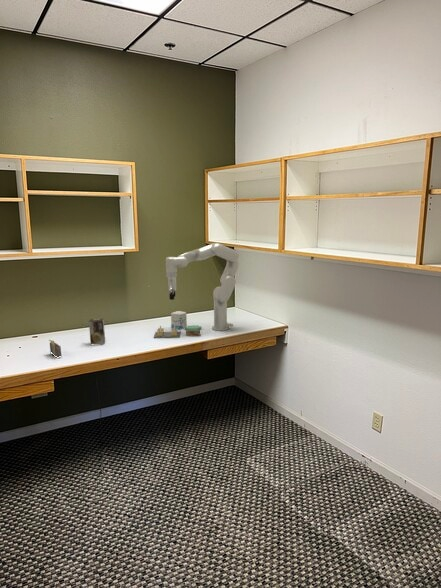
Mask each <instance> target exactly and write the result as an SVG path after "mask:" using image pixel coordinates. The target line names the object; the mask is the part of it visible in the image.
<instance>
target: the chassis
mask: <svg viewBox="0 0 441 588" xmlns="http://www.w3.org/2000/svg"><path fill="white" fill-rule="evenodd" d="M181 333H182V332H181V331H180V330H179V329H178V328H175V325H174V328H171V331H165V328H162V325H159V327H157V331H155V333H154V336H153V339H180V338H181Z"/></svg>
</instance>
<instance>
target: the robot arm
mask: <svg viewBox="0 0 441 588" xmlns="http://www.w3.org/2000/svg"><path fill="white" fill-rule="evenodd" d="M214 256H217V257H218V258H222V259H224V260H226V266H225V268H224V270H223V272H222V274H221V276H220V280H219V281H220V286H216V287H215V288H214V289H213V294H212V295H213V326H211V329H212V330H213V331H216V332H217V331H218V332H219V331H220V332H221V331H228V330H229V329H230V327H234V323H230V322H228V304H227V303H228V301H229V299H230V297H231V296H232V293H233V291H234V289H235V287H236V283H237V281H236V278H235V275H236V274H237V271H238V268H239V260H238V259H239V252H238V251H237V250H235V249H233V248H230V247H228V246H225V245H223V244H222V243H220V242H213V243H210V244H208V245H205V246H202V247H199V248H197V249H193V250H190V251H188V252H187V251H186V252H184V253H183V254H179V255H178V256H177V257H176V256H166V258H165V271H166V272H165V273H166V275H165V277H166V278H167V283H168V284H167V286H168V291H169V300H171V301H172V300H175V297H176V291H177V277H178V268H186V267H187V266H188V264H189V263H191V262H197V261H203V260H207V259H209V258H212V257H214Z"/></svg>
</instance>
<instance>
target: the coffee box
mask: <svg viewBox="0 0 441 588" xmlns="http://www.w3.org/2000/svg"><path fill="white" fill-rule="evenodd" d="M88 326H89V339H90V345H91V344H100V345H105V344H106V332H105V320H104V318H93V319H90V318H89V321H88Z"/></svg>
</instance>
